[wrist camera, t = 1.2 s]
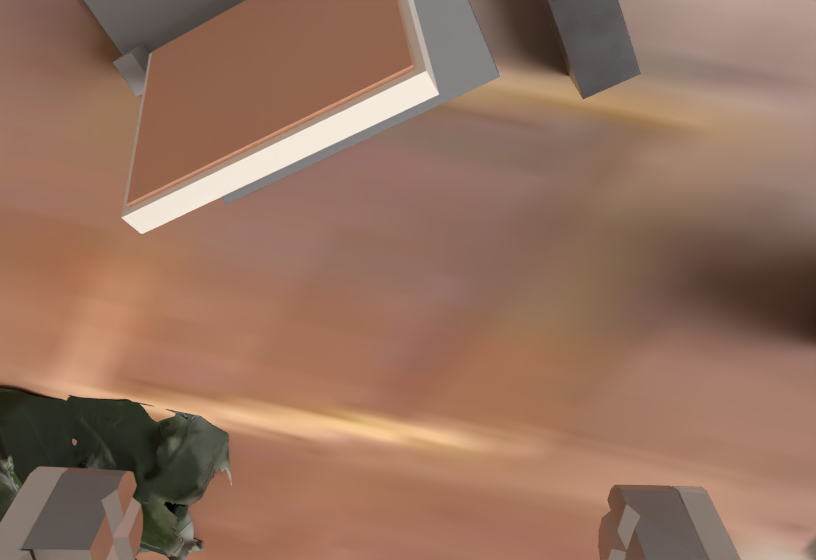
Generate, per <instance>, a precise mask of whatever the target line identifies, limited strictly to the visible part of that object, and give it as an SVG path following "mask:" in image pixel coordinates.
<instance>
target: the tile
mask: <svg viewBox="0 0 816 560" xmlns="http://www.w3.org/2000/svg"><path fill="white" fill-rule="evenodd" d="M437 95H439V92H438V89H437V85H436V81H435V77H434V74H433V70H432V66H431V63H430V59H429V55H428V52H427V48H426V44H425V41H424V37H423V33H422V29H421V26H420V22H419V18H418V15H417V11H416V7H415V4H414V0H245V1H243V2H242V3H240V4H238V5H236V6H234V7H233V8H231V9H229V10H227V11H225V12H223V13H222V14H220V15H218V16H216V17H214V18H213V19H211V20H209V21H207V22H205V23H203V24H202V25H200V26H198V27H196V28H194V29H193V30H191V31H189V32H187V33H185V34H183V35H182V36H180V37H178V38H176V39H174V40H173V41H171V42H169V43H167V44H165V45H163V46H162V47H160V48H158V49H156V50H154V51H153V52H152V53H150V54H149V59H148V65H147V71H146V77H145V83H144V89H143V94H142V100H141V106H140V112H139V118H138V124H137V129H136V135H135V141H134V147H133V153H132V159H131V164H130V170H129V176H128V182H127V188H126V194H125V199H124V205H123V211H122V217H121V218H123V219H124V220H125V221H126V222H127V223H129V224H130V225H131V226H132V227H134V228H135V229H136V230H137V231H138V232H140V233H141V234H143V233H145V232H147V231H149V230H152V229H154V228H156V227H158V226H160V225H162V224H164V223H167V222H169V221H171V220H173V219H175V218H177V217H179V216H181V215H184V214H186V213H188V212H190V211H192V210H194V209H196V208H198V207H201V206H203V205H205V204H207V203H209V202H211V201H213V200H215V199H218V198H220V197H222V196H224V195H226V194H228V193H230V192H233V191H235V190H237V189H239V188H241V187H243V186H245V185H247V184H250V183H252V182H254V181H256V180H258V179H260V178H262V177H264V176H267V175H269V174H271V173H273V172H275V171H277V170H279V169H281V168H284V167H286V166H288V165H290V164H292V163H294V162H296V161H298V160H301V159H303V158H305V157H307V156H309V155H311V154H313V153H316V152H318V151H320V150H322V149H324V148H326V147H328V146H330V145H333V144H335V143H337V142H339V141H341V140H343V139H345V138H347V137H350V136H352V135H354V134H356V133H358V132H360V131H362V130H364V129H367V128H369V127H371V126H373V125H375V124H377V123H379V122H382V121H384V120H386V119H388V118H390V117H392V116H394V115H396V114H399V113H401V112H403V111H405V110H407V109H409V108H411V107H413V106H416V105H418V104H420V103H422V102H424V101H426V100H428V99H430V98H433V97H435V96H437Z"/></svg>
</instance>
